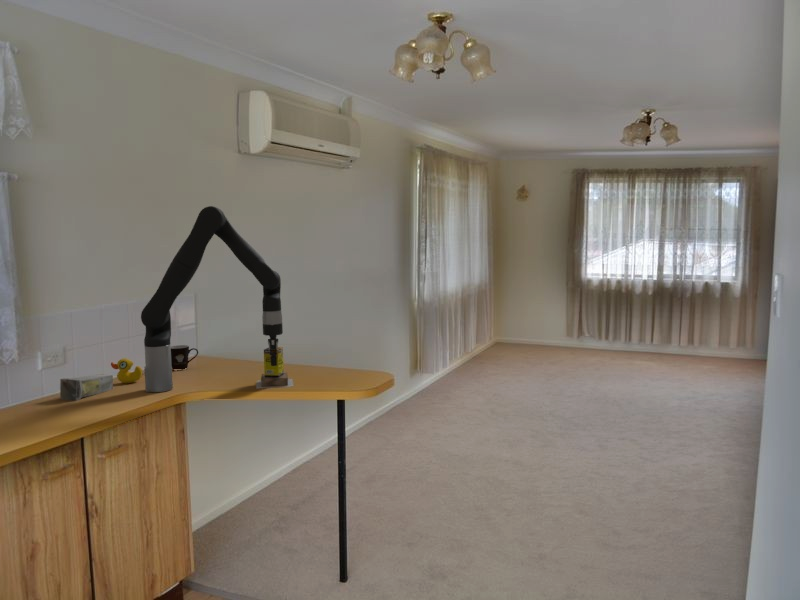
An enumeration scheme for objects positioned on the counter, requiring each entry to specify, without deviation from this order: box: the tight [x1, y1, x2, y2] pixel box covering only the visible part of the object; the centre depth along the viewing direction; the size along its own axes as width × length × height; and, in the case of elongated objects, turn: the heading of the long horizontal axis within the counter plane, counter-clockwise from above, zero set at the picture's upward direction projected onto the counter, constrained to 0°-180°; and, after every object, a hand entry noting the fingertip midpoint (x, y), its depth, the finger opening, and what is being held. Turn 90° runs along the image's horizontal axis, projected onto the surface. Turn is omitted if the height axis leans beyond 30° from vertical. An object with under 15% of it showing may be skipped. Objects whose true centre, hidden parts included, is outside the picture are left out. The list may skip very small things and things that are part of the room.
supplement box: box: [263, 346, 285, 377], centre depth 247 cm, size 6×6×11 cm
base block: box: [260, 372, 289, 387], centre depth 248 cm, size 10×10×3 cm
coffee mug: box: [171, 344, 199, 369], centre depth 280 cm, size 12×9×10 cm
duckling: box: [110, 358, 143, 384], centre depth 254 cm, size 11×5×10 cm, turn 109°
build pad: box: [255, 378, 294, 390], centre depth 248 cm, size 14×14×1 cm
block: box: [59, 374, 114, 402], centre depth 237 cm, size 19×8×8 cm, turn 158°
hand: (273, 363), depth 247 cm, fingers open, 8 cm apart
